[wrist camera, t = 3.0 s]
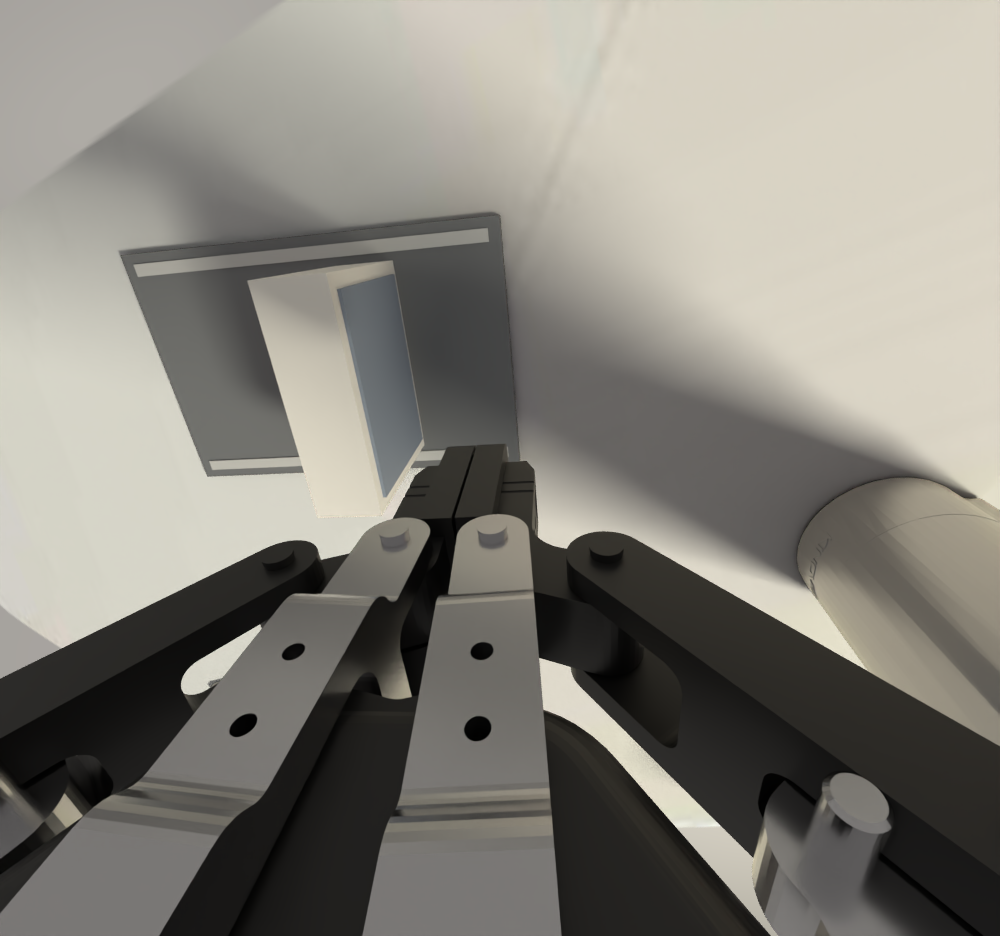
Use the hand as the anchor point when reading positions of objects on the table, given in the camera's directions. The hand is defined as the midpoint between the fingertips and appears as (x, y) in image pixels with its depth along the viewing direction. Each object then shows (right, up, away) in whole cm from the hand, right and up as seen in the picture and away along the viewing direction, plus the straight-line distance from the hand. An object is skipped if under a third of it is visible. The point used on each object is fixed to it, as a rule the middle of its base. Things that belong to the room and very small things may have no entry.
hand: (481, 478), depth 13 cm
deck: (-6, +4, +10) cm, 13 cm away
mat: (-9, +6, +15) cm, 18 cm away
